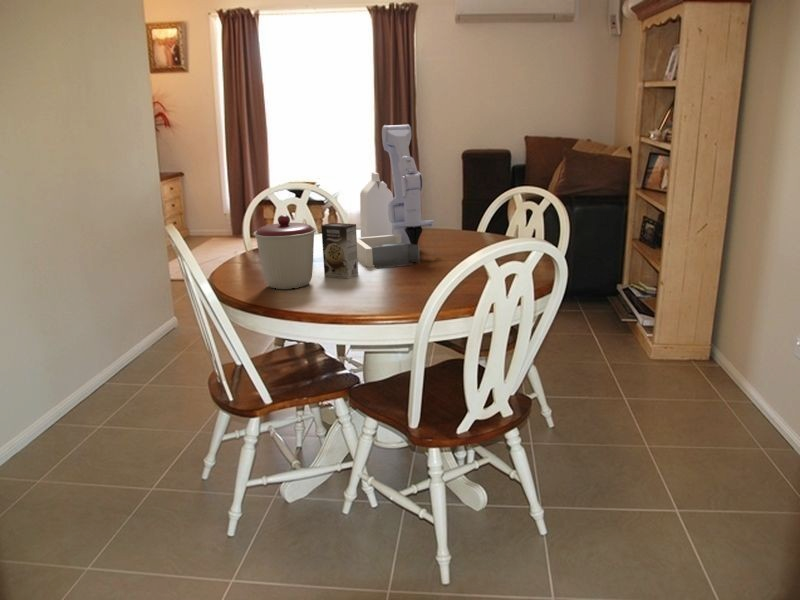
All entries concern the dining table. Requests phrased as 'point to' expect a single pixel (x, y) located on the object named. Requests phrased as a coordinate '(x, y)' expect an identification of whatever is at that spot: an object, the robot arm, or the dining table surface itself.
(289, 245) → the canister
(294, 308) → the dining table surface
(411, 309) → the dining table surface
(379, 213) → the milk
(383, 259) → the grey long angular piece
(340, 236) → the coffee box
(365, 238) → the shallow white tray
